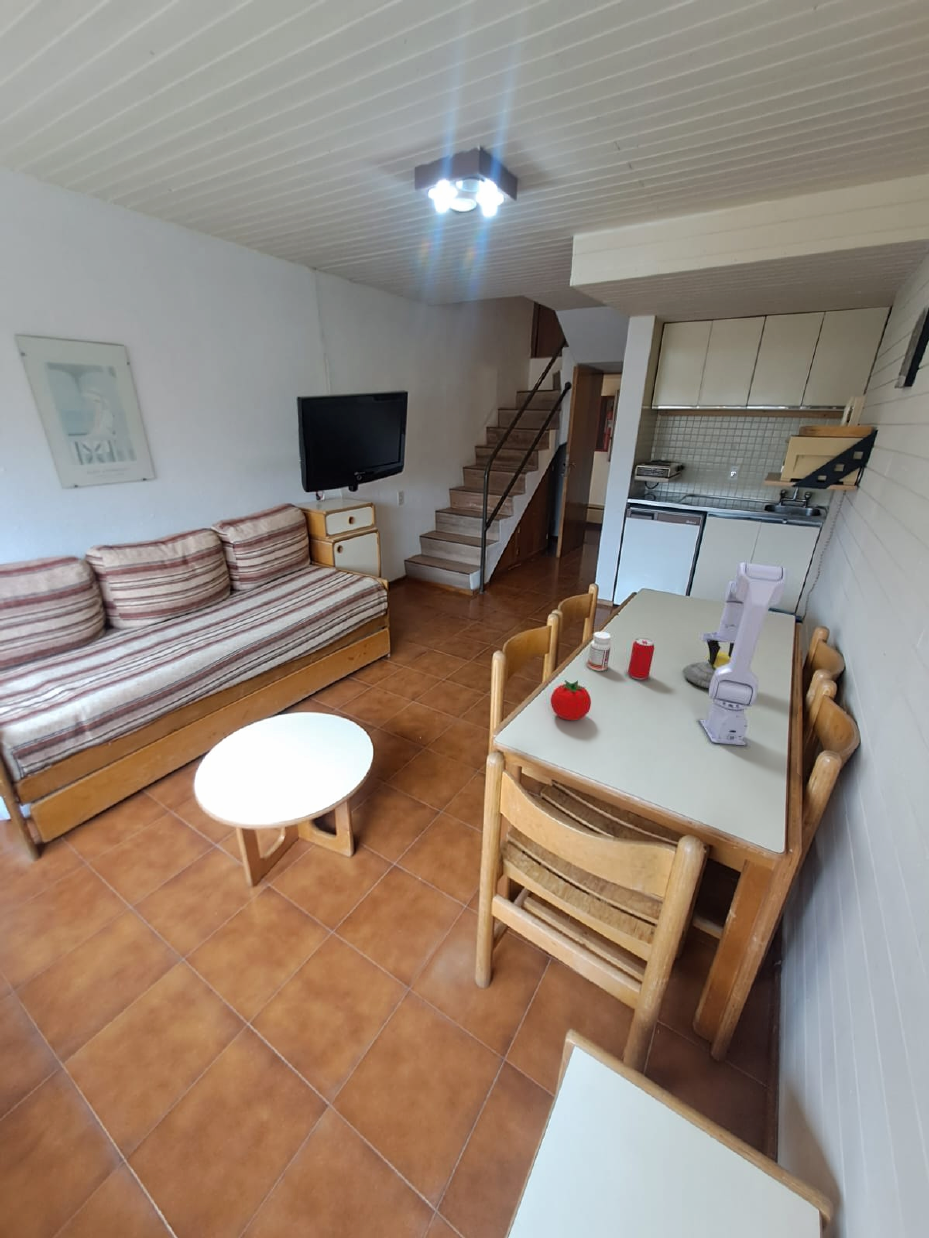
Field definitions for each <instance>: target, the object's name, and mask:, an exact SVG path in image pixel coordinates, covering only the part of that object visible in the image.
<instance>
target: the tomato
mask: <svg viewBox="0 0 929 1238" xmlns="http://www.w3.org/2000/svg"><path fill="white" fill-rule="evenodd" d="M564 682H565V683H563V684H560V685H558V686H557V687H556V688H555V689H554V690H553V692H552V694H551V696H550V705H551V708H552V710H553V712H554V713H555V715H557V716H558V717H559V718H561V719H563V720H566V721H578V720H580V719H583V718H584V717H586V715H588V713H590V710H591V707H592V700H591V696H590V693H589V692H588V690H587V689H586V686H585V687H584V686H582V685H579V680H576V681H575V682H573V683H570V682H569V681H567V680H566V679H564Z"/></svg>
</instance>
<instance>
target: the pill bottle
mask: <svg viewBox="0 0 929 1238" xmlns="http://www.w3.org/2000/svg"><path fill="white" fill-rule="evenodd" d="M611 648H612V645H611V634H610V633H608V632H604V631H595V632H594V633H593V637H592V641H590V647H589V652H588V658H587V659H588V660H587V666H588V668H590V669H591V670H593V671H598V672H602V671H605V670H607V669H608V665H609V659H610V653H611Z"/></svg>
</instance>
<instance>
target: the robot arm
mask: <svg viewBox="0 0 929 1238" xmlns="http://www.w3.org/2000/svg"><path fill="white" fill-rule="evenodd" d="M787 579H788V570H787V569H786V567H785V566H781V567H780V566H773V565H764V564H757V563H751V562H749V563H748V562H745V561H742V562H741V563H739V564H738V566H737V570H736V572H735V577H734V581H733V580H730V581H729V582H728V584H727V586H726V590H725V595H724V598H725V599H724V601H725V603H724V607H723V611H722V614H721V618H720V622H719V626H718V630H717V632H704V633H703V632H702V633H701V634H700V637H699V640H700V641H701V642H702V643H705V642H706V644H707V646H708V652H709V653H708V655H709V654H710V661H709V662H710V663H711V664H712V665H714V663H715V660H716V657H717V654H718V652H720V650H721V648H722V647H721V645H720V643H728V644H729V649H728V653H727V655H728V656H729V657H730V661H729V663H728V664H726V665H723V666H720V667H718V668H716V670H715V672H714V675H713V677H712V679H711V683H710V688H708V696H709V697H710V699H711V700H712V702H711V705H710V706H711V707H710V709H709V712H708V717H707V719H700V721H699V722H700V725H701V726H702V727H703V729H704V731H705V732H706V734H707V736H708V738H709V739H710V741H711V742H712V743H714V744H725V745H726V744H727V745H736V746H737V745H738V746H746V742H745V741H744V738H745V734H746V730H747V727H748V720H747V718H746V715H745V711H746V710H747V709H748V708H747V707H752V706H753V705H754V704H755V703H756V700H757V695H758V687H759V679H758V676H757V675H756V673H754V672H753V671H752V670H751V669H750V668H751V664H752V662H753V658H754V654H755V651H756V648H757V646H758V645H757V644H758V641H759V639H760V638H759V637H760V635H761V631H762V629H763V625H764V621H765V618H766V615H767V613H768V611H769V610H770V608H771V607H773V606H777V605H779V603H780V601H781V599H782V597H783V594H784V590H785V587H786V584H787ZM709 662H708V663H709Z"/></svg>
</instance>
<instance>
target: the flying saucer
mask: <svg viewBox="0 0 929 1238" xmlns="http://www.w3.org/2000/svg"><path fill="white" fill-rule="evenodd" d="M714 672H715V670H714V669H713V667H712V666H711V665H710V663H709V662H704V661H703V662H701V661H699V662H694V663H691V664H689V665H686V667H684V668H683V670H682V674H683V676H684V677H685V678H686V679H687V680H688V681H689V682H691V683H693V684H695V685H697V686H699V687H702V688H705V689H709V688H710V683H711V679H712V677H713V675H714Z"/></svg>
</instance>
